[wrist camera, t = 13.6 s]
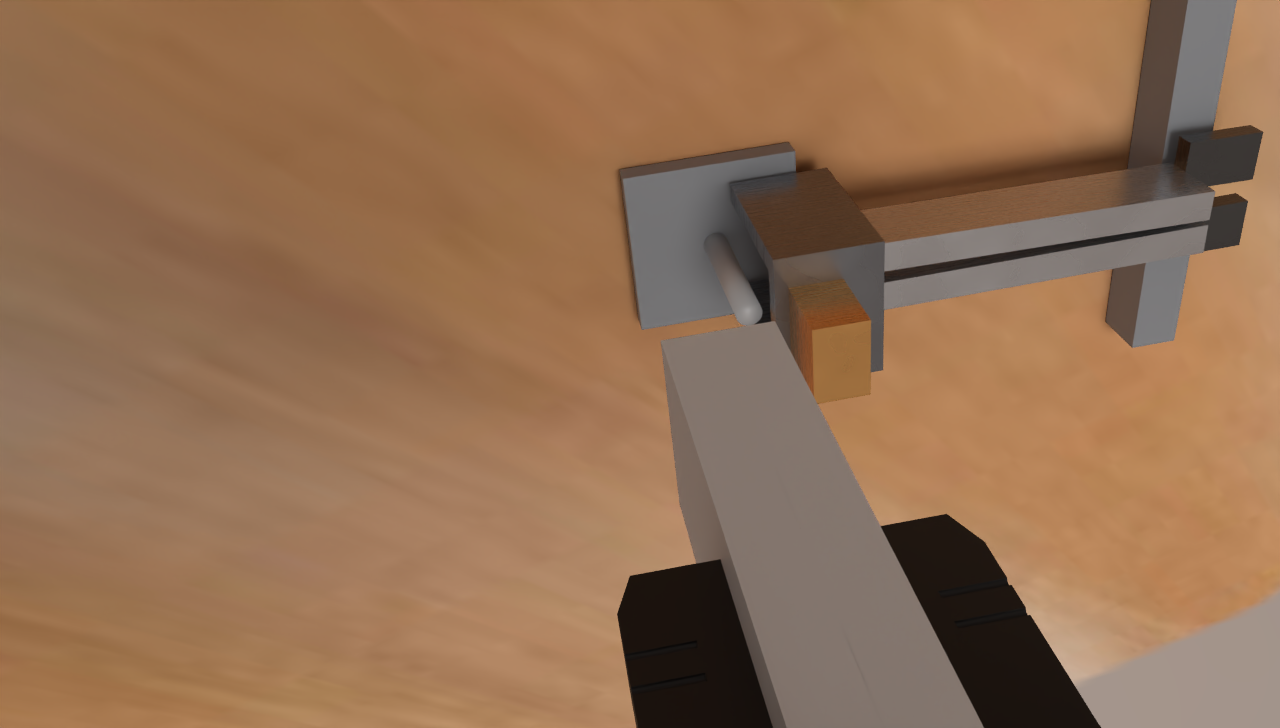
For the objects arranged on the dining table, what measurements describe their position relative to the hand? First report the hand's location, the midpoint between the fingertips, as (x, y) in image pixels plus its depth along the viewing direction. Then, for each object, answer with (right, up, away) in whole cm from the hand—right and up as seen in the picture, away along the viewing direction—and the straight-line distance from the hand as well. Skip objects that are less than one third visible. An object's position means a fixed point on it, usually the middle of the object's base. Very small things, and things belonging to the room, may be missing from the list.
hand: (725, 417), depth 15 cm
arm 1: (+14, +6, +31) cm, 34 cm away
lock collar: (+5, +6, +31) cm, 32 cm away
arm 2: (+14, +8, +29) cm, 33 cm away
